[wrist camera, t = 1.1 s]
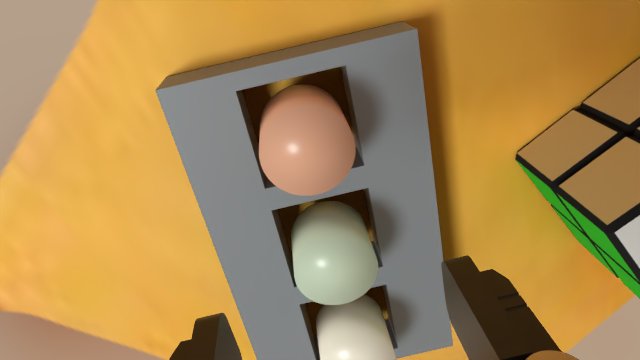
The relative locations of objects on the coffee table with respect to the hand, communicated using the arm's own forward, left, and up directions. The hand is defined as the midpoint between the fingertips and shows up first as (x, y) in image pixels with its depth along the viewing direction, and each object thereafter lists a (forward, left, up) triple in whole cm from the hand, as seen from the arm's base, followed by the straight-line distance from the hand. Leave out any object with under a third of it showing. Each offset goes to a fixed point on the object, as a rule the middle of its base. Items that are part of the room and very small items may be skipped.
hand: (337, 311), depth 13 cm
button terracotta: (0, 0, -15) cm, 15 cm away
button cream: (0, +15, -15) cm, 21 cm away
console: (0, +7, -18) cm, 19 cm away
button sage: (0, +7, -15) cm, 17 cm away
